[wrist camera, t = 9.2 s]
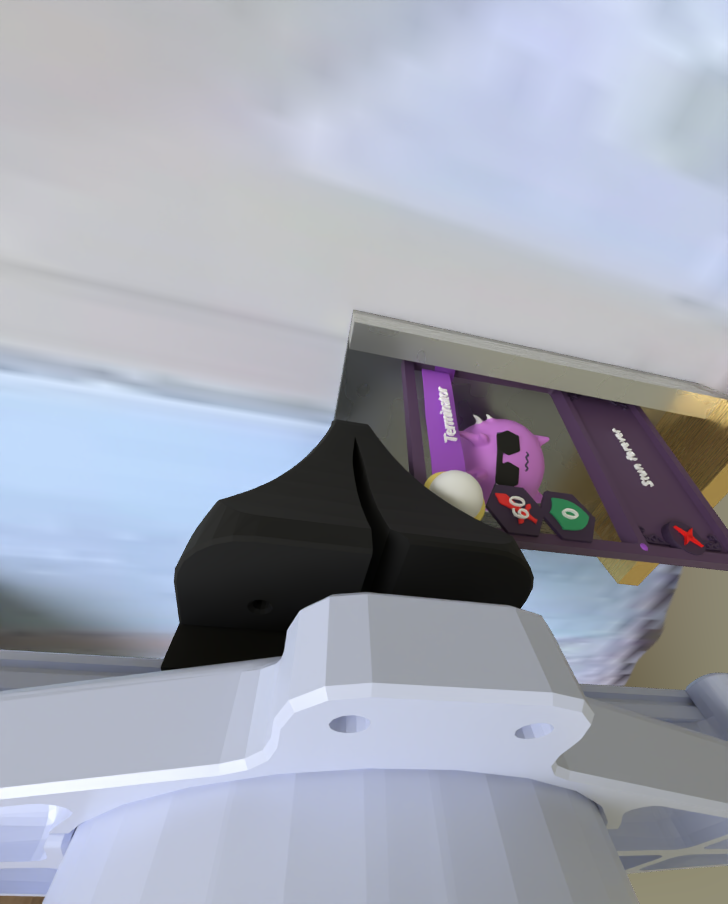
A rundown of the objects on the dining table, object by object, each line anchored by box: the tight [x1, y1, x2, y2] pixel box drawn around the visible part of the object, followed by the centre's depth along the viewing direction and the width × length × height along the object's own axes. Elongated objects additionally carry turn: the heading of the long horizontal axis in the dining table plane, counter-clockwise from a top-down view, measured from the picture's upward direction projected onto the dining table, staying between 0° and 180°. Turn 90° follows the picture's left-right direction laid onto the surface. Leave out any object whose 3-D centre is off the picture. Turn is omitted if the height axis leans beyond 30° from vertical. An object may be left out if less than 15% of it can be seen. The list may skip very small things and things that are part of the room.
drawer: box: [334, 310, 728, 586], centre depth 13 cm, size 8×14×4 cm, turn 78°
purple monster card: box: [401, 360, 728, 571], centre depth 12 cm, size 7×5×9 cm
